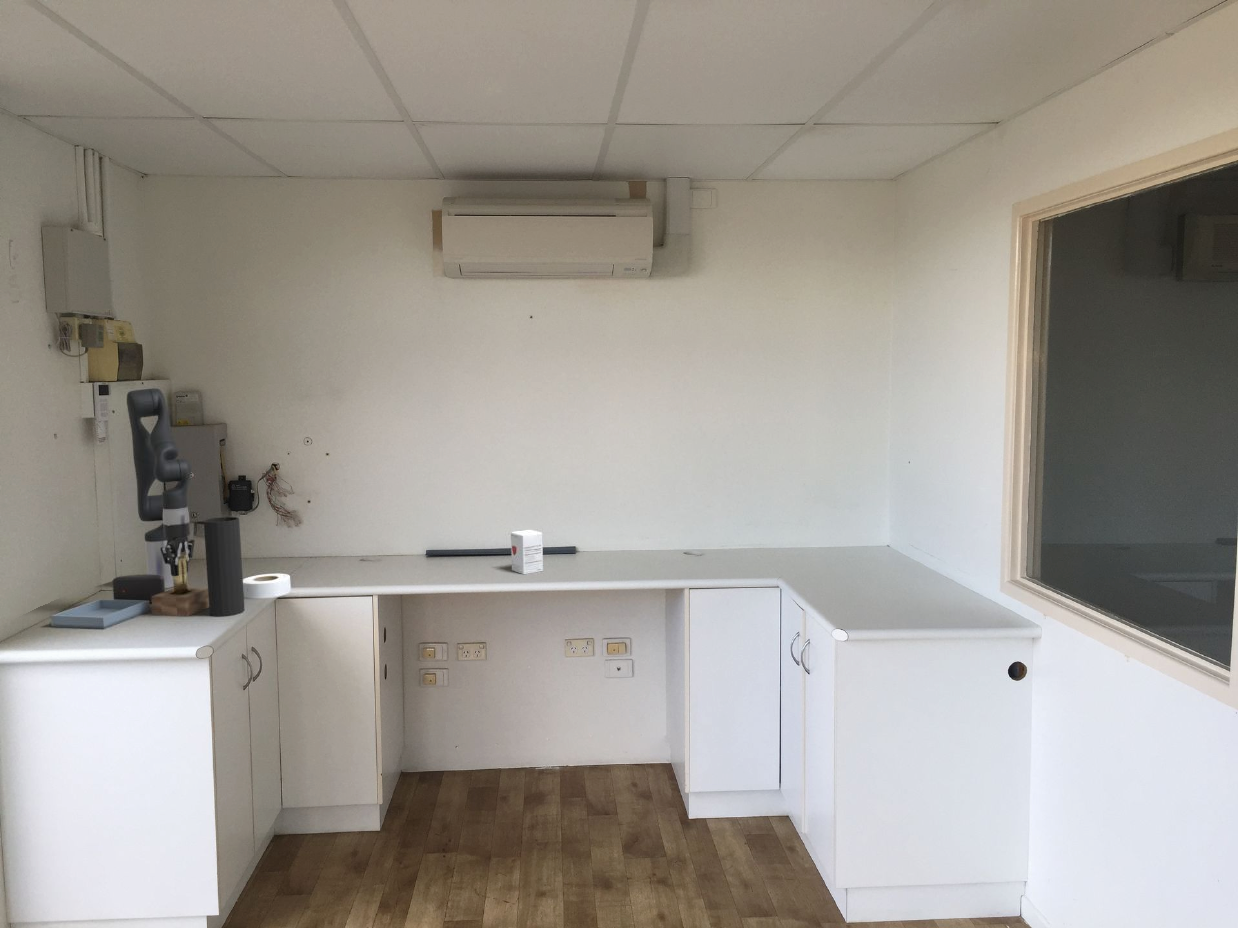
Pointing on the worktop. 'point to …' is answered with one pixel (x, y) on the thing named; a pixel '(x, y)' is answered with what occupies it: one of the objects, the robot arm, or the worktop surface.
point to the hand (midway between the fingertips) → (179, 573)
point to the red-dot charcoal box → (138, 587)
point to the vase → (224, 566)
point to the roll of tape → (266, 586)
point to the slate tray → (100, 614)
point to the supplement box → (527, 551)
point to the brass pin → (181, 576)
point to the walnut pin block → (180, 602)
